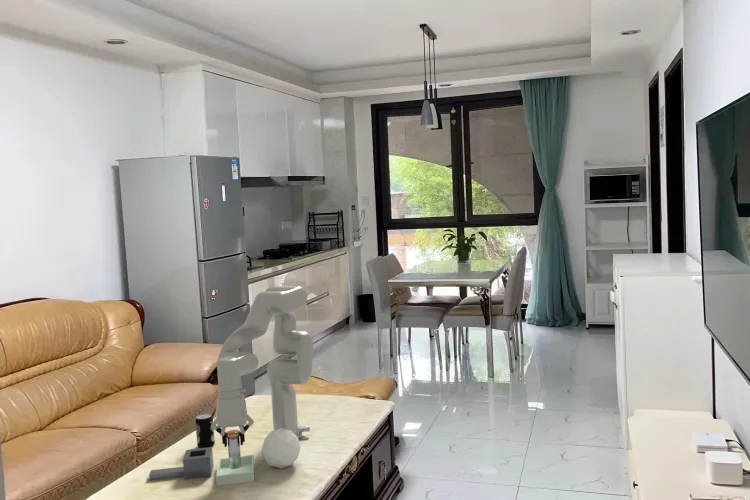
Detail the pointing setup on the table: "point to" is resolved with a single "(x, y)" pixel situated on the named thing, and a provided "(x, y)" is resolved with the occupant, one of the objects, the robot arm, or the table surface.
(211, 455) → the hitch block
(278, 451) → the geodesic sphere
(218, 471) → the tray
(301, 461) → the table surface
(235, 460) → the pin
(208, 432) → the beverage can
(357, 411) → the table surface
